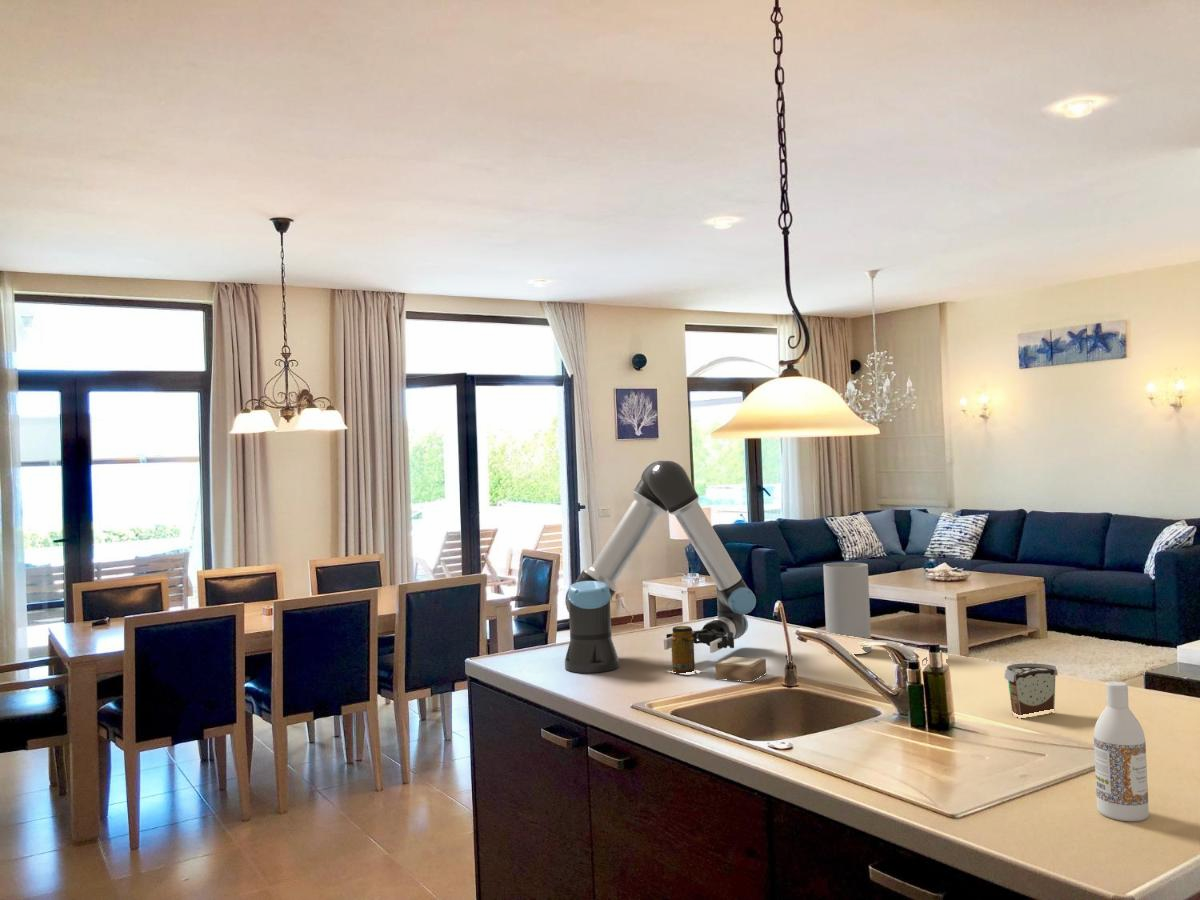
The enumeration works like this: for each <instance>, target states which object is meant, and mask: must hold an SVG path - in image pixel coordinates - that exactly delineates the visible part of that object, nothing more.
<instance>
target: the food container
mask: <svg viewBox="0 0 1200 900" xmlns="http://www.w3.org/2000/svg"><path fill="white" fill-rule="evenodd" d="M1004 671H1005V672H1004V676H1003V677H1004V679H1005V680H1007V683H1008V690H1009V698H1010V704H1011V712H1012V711H1013V712H1014V713H1016V714H1018V715H1023V714H1029V713H1034V712H1039V711H1044V710H1050V709H1054V710H1055V704H1056V701H1055V699H1056V698H1055V697H1056V676H1059V675H1058V669H1057V668H1056V665H1053V664H1046V663H1034V662H1033V663H1032V662H1031V663H1029V662H1027V663H1026V662H1024V663H1022V662H1021V663H1015V664H1014V663H1013V664H1010V665H1007V666H1006V669H1004Z"/></svg>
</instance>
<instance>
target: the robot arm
mask: <svg viewBox="0 0 1200 900" xmlns="http://www.w3.org/2000/svg"><path fill="white" fill-rule="evenodd" d="M632 494H633V501H632V502H631V504H630V505H629V507H628V509H627V510H626V512H624V515H623V516H622V518H621V519H620V521H618V524H617V526H616V527H615V528H614V530H613V532H612V534H611V535H610V537H609V538H608V540H607V542H605V545H604V546H603V548H602V549H601V551H600V552H599V554H598V555H597V557H596V559H595V560H594V561H593V563H592V565H591V566H590V567H589V568H588V567H587V568H583V569H582V571H581V573H580V574H579V576H578V577H577V579H576V580H575V582H574V583H572V584H570V586H569V588H568V589H567V591H566V593H565V607H566V609H567V612H568V613H569V614H568V615H569V616H568V617H569V637H570V638H569V644H568V647H567V650H566V655H565V658H564V669H565V670H566V671H568V672H573V673H580V674H581V673H582V674H583V673H584V674H585V673H586V674H587V673H588V674H591V673H592V674H593V673H603V672H610V671H613V670H616V669H618V668H619V666H620V663H619V662H620V661H619V656H618V653H617V650H616V646H615V645H614V641H613V638H612V619H611V616H612V615H611V600H612V598H614V595H615V594H616V593H617V585H616V584H617V583H616V582H617V581H618V580H619V578H620V577H621V576H622V573H623V572H624V570H625V568H626V567H627V565H628V563H629V562H630V561H631V558H632V557H633V556H634V554H635V552H636V551H637V550H638V547H639V546H640V544H641V543H642V541H643V539H644V538H645V537H646V535H647V534H648V532H649V531H650V529H651V527H652V526H653V524H654V522H655V521H656V519H657V518H658V516H660V515H662V514H666V513H667V512H668V514H670V515H673V516H674V517H675V518H676V520H677V521H678V523H679V525H680V527H681V528H682V529H683V532H684V533H685V535H686V538H688V539H689V542H690V543H691V545H692V547H693V549H694V550H695V552H696V553H697V555H698V557H699V559H700V560H701V562H702V563H703V565H704V567H705V568H706V570H707V572H708V574H709V576H710V577H711V579H712V581H713V582H714V584H715V588H716V601H717V603H716V604H717V618H715V619H713V620H711V621H708V622H706V623H705V624H704V625H703V627H702V629H700V630H694V629H692V637H693V639H694V645H696V644H705V645H707V647H708V646H709V653H710V654H713V653H716V652H718V651H720V650H722V649H727V648H728V647H729V648H730V649H735V640H737V639H739V638H741V637H742V636H743V635H744V634H745V633H746V632H747V631H748V628H749V622H748V618H747V617H746V615H747V614H749V613H751V612H752V611H753V610H754V608H755V607H756V604H757V599H756V595H755V594H754V593H753V591H752V590H751V589H750V588H749V587H748V585H747V584H746V582H745V581H744V579H743V577H742V575H741V573H740V572H739V570H738V569H737V567H736V565H735V563H734V561H733V560H732V558H731V557H730V555H729V553H728V551H727V549H726V548H725V547H724V545H723V543H722V541H721V539H720V537H719V536H718V534H717V533H716V531H715V529H714V527H713V526H712V524H711V522H710V520H709V519H708V516H707V515H706V514H705V511H704V509H702V507H701V505H700V504H699V498H700V496H699V494H698V493H697V491H696V490H695V487H694V485H693V483H692V481H691V480H690V478H689V475H688V474H687V472H686V470H685V469H684V467H683V466H681V465H680V464H679V463H677V462H675V461H671V460H657V461H654V462H652V463H650V464H648V465H647V466H646V467H645V468H644V470H643V471H642V473H641V476H640V480H639V481H638V483H637V484H636V486H635V488H634V490H633V491H632ZM672 637H673V634H672V633H666V637H665V638H664V639H663V647H664V648H663V649H664V650H666V651H667V650H669V649H672V645H671V639H672Z"/></svg>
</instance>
